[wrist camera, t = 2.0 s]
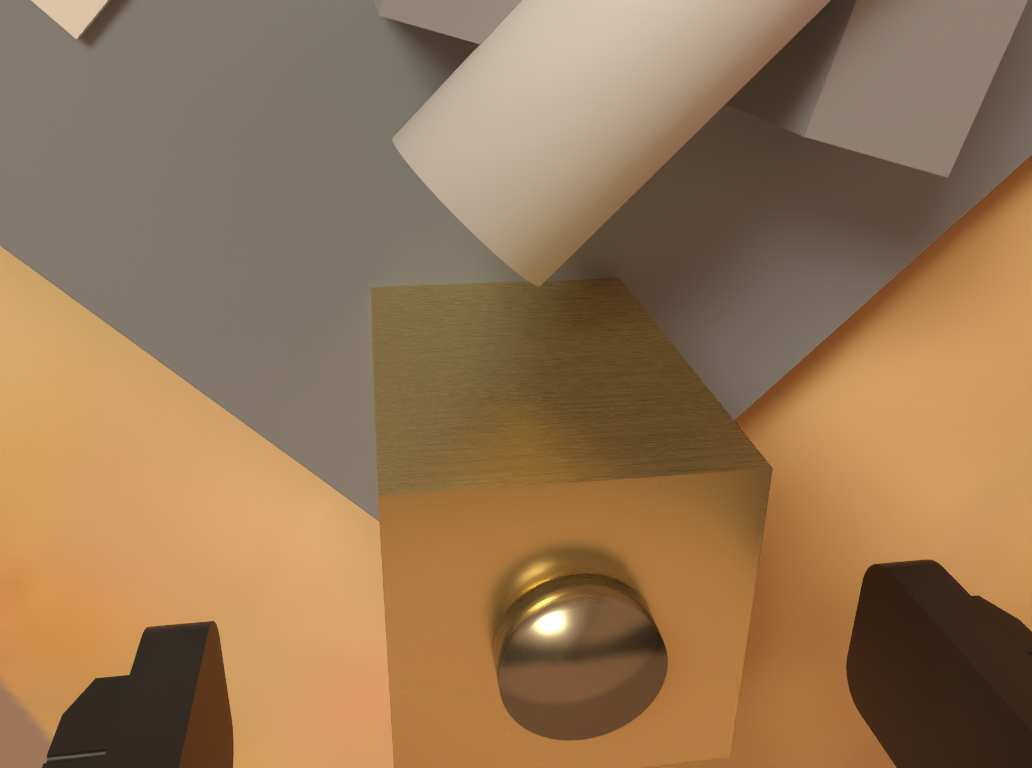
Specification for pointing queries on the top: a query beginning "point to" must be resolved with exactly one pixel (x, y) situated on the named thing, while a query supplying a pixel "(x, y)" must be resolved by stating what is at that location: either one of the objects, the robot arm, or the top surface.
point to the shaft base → (327, 207)
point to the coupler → (557, 531)
